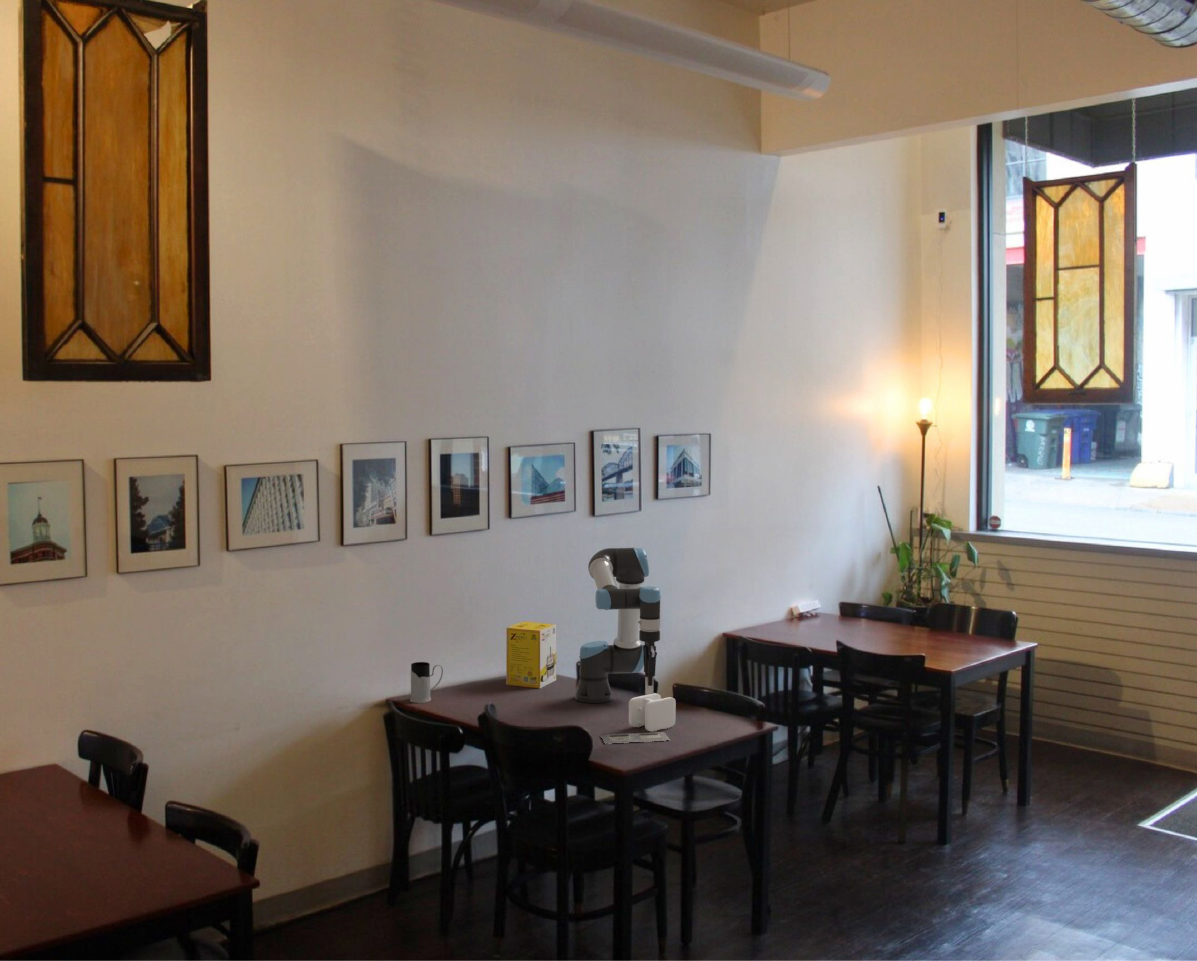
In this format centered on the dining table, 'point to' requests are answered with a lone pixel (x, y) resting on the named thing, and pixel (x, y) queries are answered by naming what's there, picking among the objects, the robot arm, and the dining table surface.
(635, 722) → the cable organizer
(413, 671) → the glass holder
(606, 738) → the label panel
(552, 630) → the packaging box
